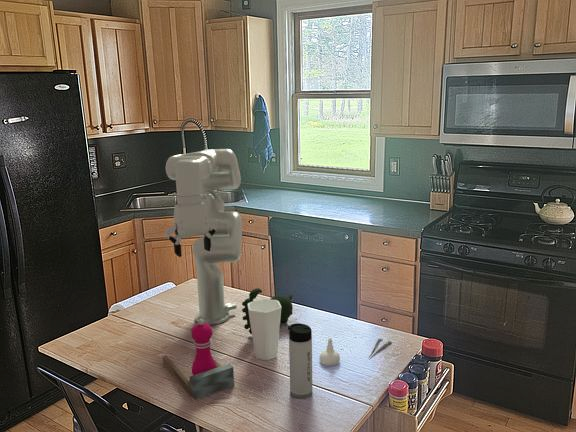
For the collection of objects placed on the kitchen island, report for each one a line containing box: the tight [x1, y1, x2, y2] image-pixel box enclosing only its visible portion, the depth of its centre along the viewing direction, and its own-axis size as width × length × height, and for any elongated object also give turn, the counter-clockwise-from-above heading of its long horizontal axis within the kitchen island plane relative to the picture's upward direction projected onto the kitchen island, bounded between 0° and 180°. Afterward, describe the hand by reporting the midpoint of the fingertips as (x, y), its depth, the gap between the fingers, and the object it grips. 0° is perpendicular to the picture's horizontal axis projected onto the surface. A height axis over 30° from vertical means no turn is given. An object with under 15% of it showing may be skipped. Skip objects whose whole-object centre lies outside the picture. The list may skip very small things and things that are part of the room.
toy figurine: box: [241, 287, 293, 335], centre depth 180 cm, size 9×19×25 cm
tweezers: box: [367, 337, 393, 361], centre depth 165 cm, size 17×5×2 cm, turn 148°
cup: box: [247, 298, 281, 361], centre depth 162 cm, size 11×10×17 cm
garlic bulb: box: [319, 337, 341, 367], centre depth 158 cm, size 6×6×8 cm
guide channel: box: [162, 355, 235, 401], centre depth 153 cm, size 12×24×6 cm, turn 33°
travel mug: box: [286, 322, 313, 399], centre depth 140 cm, size 6×7×20 cm
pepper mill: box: [190, 319, 217, 376], centre depth 146 cm, size 7×7×20 cm
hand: (193, 253), depth 161 cm, fingers open, 9 cm apart
